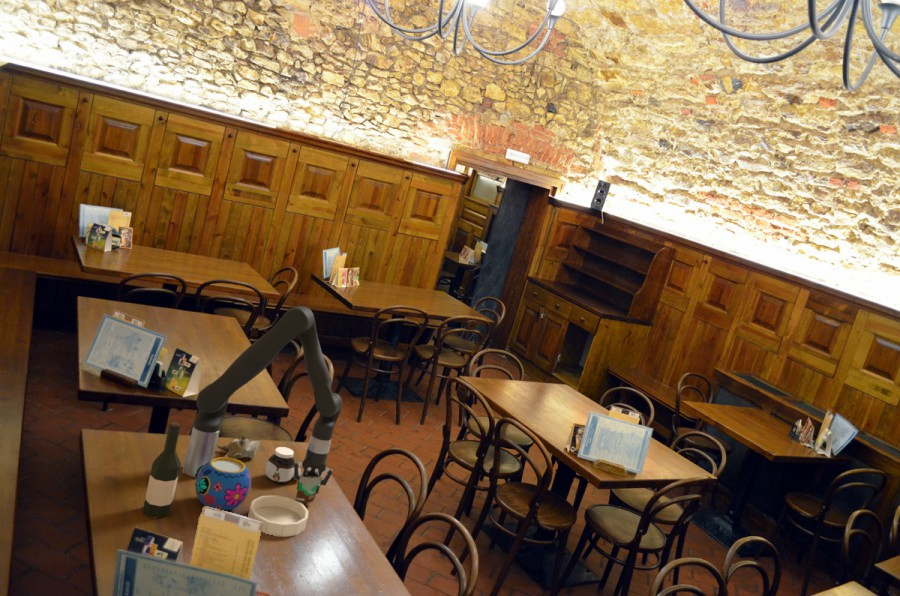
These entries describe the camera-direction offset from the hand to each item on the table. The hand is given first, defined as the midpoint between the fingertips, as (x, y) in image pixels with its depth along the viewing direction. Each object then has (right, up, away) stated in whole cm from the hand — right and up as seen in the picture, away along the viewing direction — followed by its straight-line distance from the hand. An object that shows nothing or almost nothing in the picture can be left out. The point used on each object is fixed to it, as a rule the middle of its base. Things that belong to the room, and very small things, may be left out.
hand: (307, 492), depth 259 cm
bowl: (-7, -6, -16) cm, 18 cm away
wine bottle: (-42, +1, -29) cm, 51 cm away
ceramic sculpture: (-31, +7, +23) cm, 40 cm away
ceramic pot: (-27, -1, -16) cm, 31 cm away
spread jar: (-12, +1, +15) cm, 19 cm away
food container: (0, -3, 0) cm, 3 cm away
